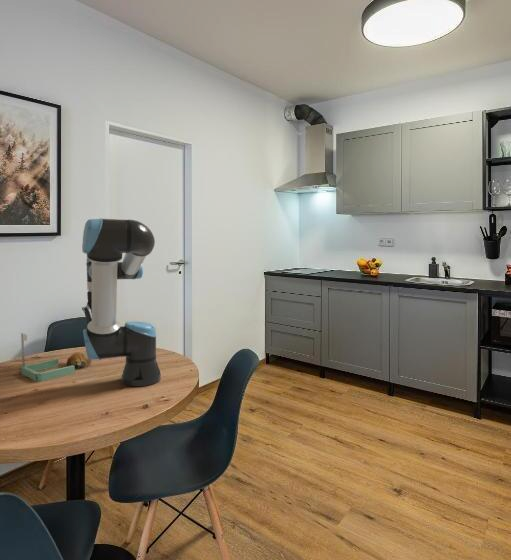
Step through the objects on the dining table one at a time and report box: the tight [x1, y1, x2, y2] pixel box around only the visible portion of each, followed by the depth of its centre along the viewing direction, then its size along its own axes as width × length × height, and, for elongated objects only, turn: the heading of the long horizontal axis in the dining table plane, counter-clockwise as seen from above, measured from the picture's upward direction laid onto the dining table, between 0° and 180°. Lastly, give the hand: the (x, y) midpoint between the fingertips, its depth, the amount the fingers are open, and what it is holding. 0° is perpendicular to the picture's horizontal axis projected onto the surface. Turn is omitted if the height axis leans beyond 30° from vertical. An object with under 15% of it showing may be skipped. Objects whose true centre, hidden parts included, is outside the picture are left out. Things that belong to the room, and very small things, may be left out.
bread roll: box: [66, 351, 92, 370], centre depth 183 cm, size 10×10×8 cm
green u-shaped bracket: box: [19, 332, 76, 383], centre depth 172 cm, size 16×15×17 cm
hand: (97, 341), depth 189 cm, fingers closed
